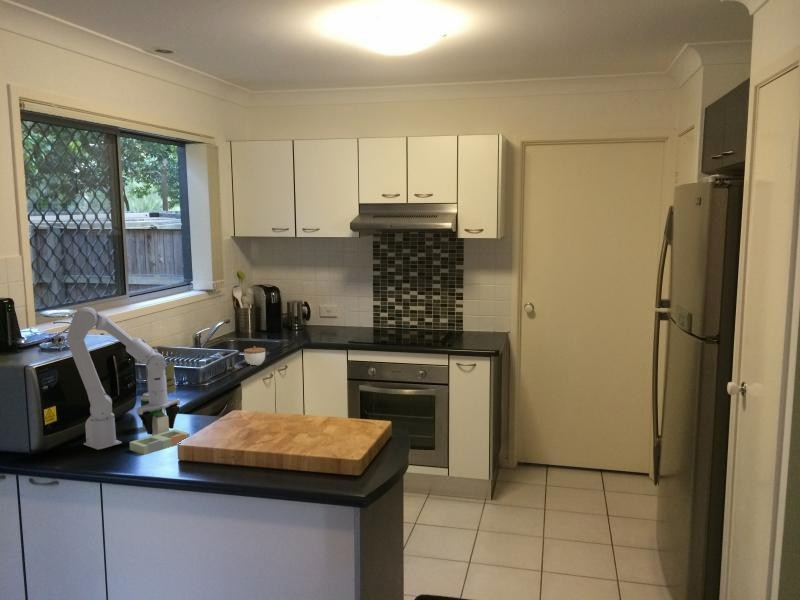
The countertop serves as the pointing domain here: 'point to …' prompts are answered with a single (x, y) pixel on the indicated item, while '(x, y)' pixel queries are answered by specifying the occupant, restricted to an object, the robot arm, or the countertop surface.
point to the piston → (167, 378)
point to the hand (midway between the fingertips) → (160, 430)
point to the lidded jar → (254, 355)
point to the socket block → (158, 441)
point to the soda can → (146, 401)
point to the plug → (160, 423)
